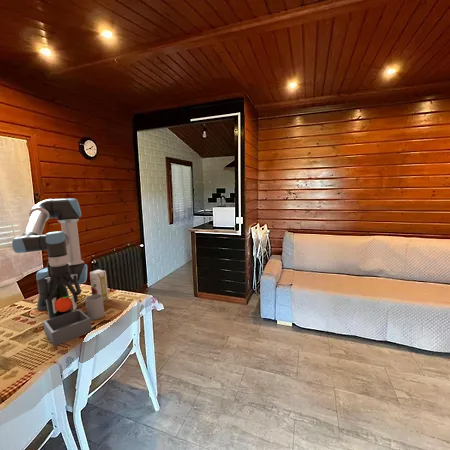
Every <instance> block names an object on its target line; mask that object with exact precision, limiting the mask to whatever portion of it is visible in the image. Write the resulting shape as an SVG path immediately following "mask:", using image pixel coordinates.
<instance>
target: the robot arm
mask: <svg viewBox="0 0 450 450" xmlns="http://www.w3.org/2000/svg"><path fill="white" fill-rule="evenodd" d="M28 216H29V219H28V221H27V224H26V225H25V228H24V230H23V232H22V235H21V236H17V237H14V238H13V239H12V241H11V244H12V245H11V246H12V250H13V251H14V253H16V254H21V253H23V254H26V253H32V252H40V251H41V252H42V251H47V256H48V258H47V259H48V262H49V265H50V273H51V276H50V277H49V278H48V269H47V267H45V268H44V267H43V268H42V269H40V270H38V271H37V272H36V274H35V276H36V279H35V280H36V285H37V289H38V298H37V304H36V308H37V310H39V311H48V310H47V303H46V299H48V300H50V306H53V311H54V313H56V312H57V310H56V308H55V303H56V298H54V295H55V292H56V289H57V286H58V284H65V286H66V287H67V290H68V291H70V293H71V295H72V296H71V300H72V308H73V309H72V311H75V310H77V303H79V298H78V296H79V295H81V294H82V290H81V287H80V286H81V284H85V283H86V282H87V278H88V264H85V261H84V260H82V255H81V247H80V238H79V229H78V222H79V220H80V218H81V217H82V211H81V206H80V203H79V201H78V199H77V198H70V197H68V198H67V197H66V198H54V199H53V198H48V199H44V200H42V201H39V202H38V203H36V204H35V205H33V206H32V208H31V209H30V211H29V213H28ZM49 219H57V222H58V223H60V227H61V230H59V231H58V230H57V231H50V232H47V233H45V234H43V231H44V228H45V226H46V222H47V221H48V220H49ZM50 280H52V281H53V282H54V284H53V288H52V291H51V294H50V296H49V290H50Z"/></svg>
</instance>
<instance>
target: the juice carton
mask: <svg viewBox="0 0 450 450" xmlns="http://www.w3.org/2000/svg"><path fill="white" fill-rule="evenodd" d="M89 280H90V281H89V282H90V288H91V295H95V294H101V295H102V297H103V303H105V301H109V287H108V279H107V271H106V270H102V269H96V270H95V269H94V270H93V271H90V272H89Z"/></svg>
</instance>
